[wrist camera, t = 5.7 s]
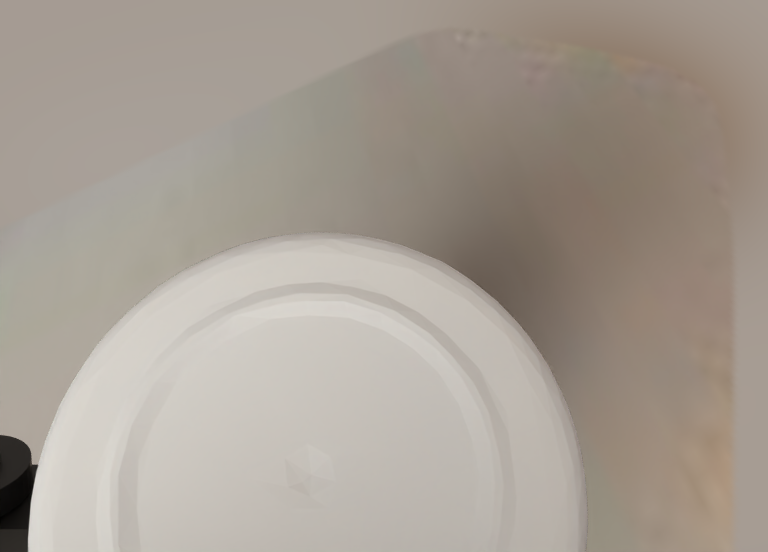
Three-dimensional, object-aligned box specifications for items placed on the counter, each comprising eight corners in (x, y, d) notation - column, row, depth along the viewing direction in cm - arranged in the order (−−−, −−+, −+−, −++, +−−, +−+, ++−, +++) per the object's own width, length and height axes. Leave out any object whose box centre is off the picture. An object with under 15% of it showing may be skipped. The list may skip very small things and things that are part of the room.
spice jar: (415, 632, 16) (525, 994, 4) (255, 572, 17) (-132, 700, 4) (462, 461, 18) (650, 299, 5) (315, 410, 18) (170, 156, 6)
